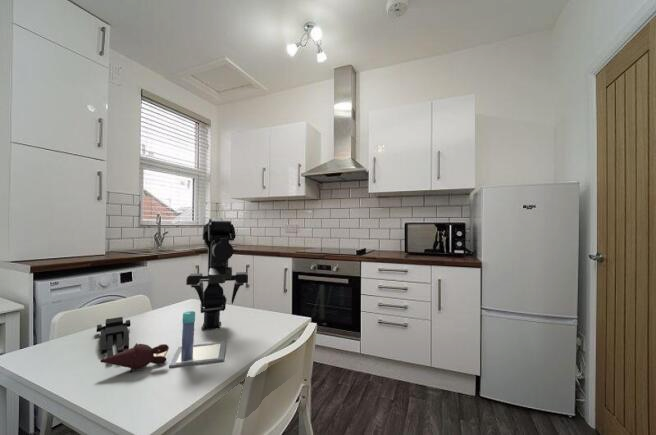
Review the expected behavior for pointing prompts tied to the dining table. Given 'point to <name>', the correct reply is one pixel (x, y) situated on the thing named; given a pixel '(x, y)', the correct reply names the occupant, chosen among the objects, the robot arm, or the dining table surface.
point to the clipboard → (201, 354)
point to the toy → (114, 335)
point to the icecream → (138, 356)
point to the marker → (187, 336)
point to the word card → (160, 354)
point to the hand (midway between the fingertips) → (217, 304)
